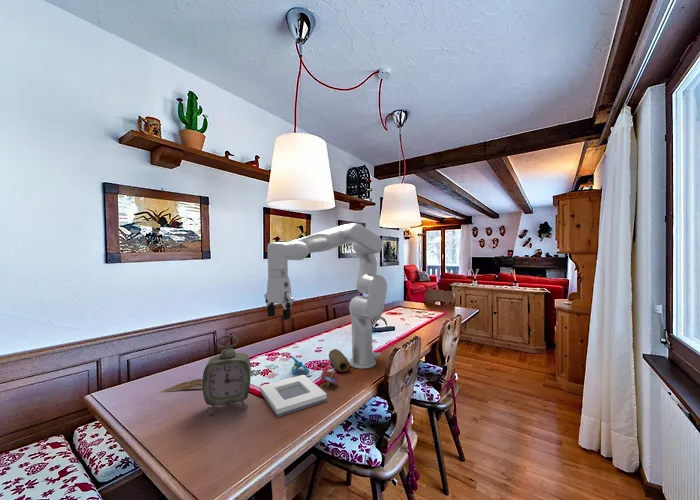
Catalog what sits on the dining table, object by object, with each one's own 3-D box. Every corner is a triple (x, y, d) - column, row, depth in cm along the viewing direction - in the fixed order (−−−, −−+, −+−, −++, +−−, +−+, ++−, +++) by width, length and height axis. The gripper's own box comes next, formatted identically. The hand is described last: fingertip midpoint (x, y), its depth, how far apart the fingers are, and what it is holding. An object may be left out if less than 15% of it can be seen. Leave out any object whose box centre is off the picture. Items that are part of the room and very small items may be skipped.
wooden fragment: (233, 375, 129) (233, 372, 129) (232, 385, 118) (232, 383, 118) (165, 385, 120) (165, 382, 120) (158, 397, 110) (158, 395, 110)
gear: (313, 371, 127) (296, 357, 125) (304, 383, 124) (286, 369, 122) (306, 366, 137) (290, 352, 135) (297, 377, 134) (281, 363, 132)
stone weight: (326, 363, 140) (325, 349, 140) (339, 360, 143) (339, 346, 143) (337, 375, 127) (337, 359, 127) (352, 372, 130) (352, 356, 130)
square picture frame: (304, 380, 121) (304, 374, 121) (326, 400, 105) (326, 393, 105) (260, 392, 112) (259, 385, 112) (277, 417, 95) (277, 409, 95)
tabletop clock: (203, 418, 95) (201, 341, 95) (208, 404, 104) (207, 333, 104) (250, 411, 99) (249, 336, 99) (251, 398, 107) (250, 329, 108)
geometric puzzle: (343, 375, 120) (331, 360, 120) (344, 383, 114) (331, 367, 113) (329, 386, 120) (317, 371, 120) (329, 395, 113) (316, 378, 113)
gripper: (300, 273, 112) (300, 318, 112) (272, 272, 123) (273, 313, 123) (284, 275, 106) (285, 322, 106) (256, 273, 117) (257, 316, 117)
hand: (278, 317), depth 115 cm, fingers open, 9 cm apart
